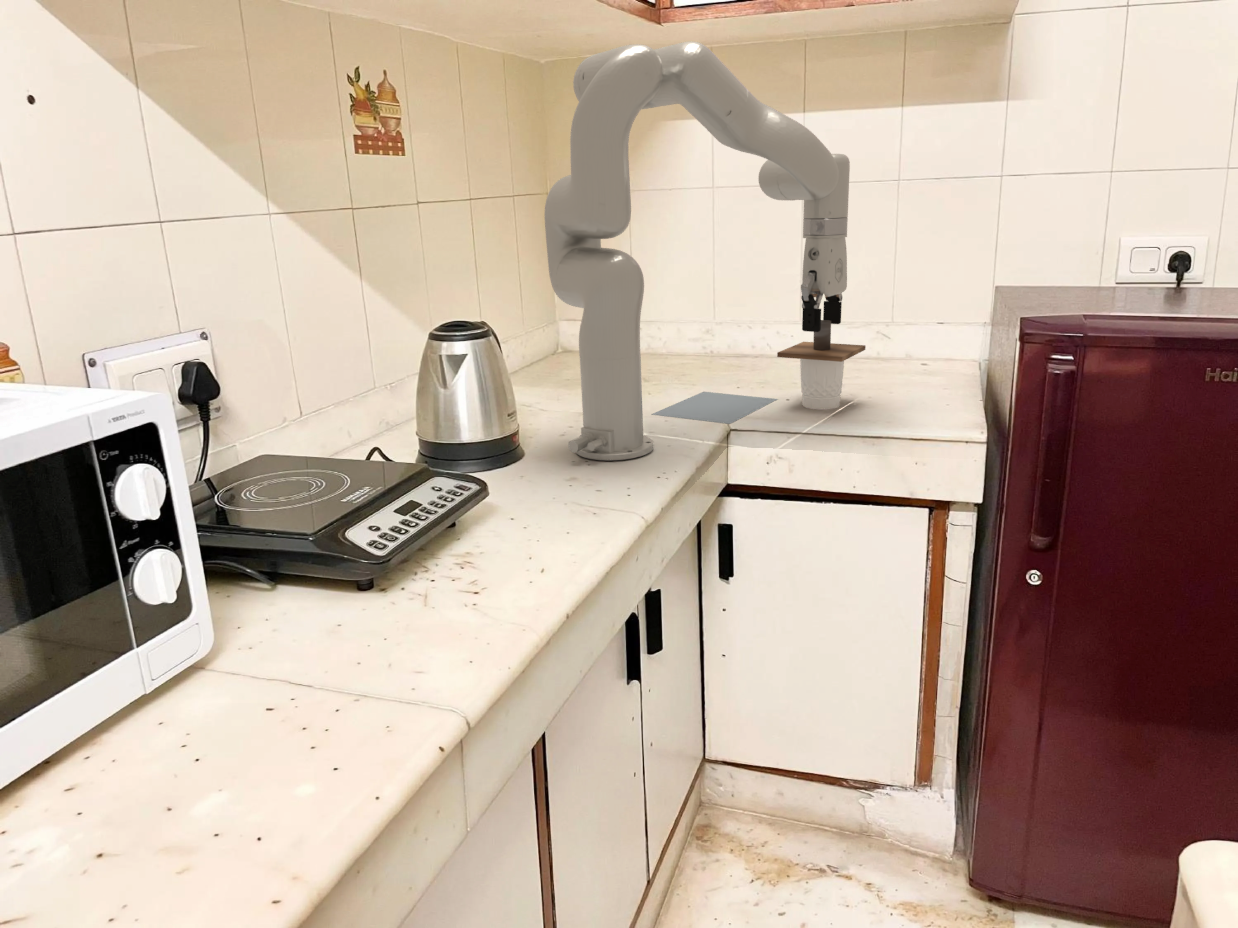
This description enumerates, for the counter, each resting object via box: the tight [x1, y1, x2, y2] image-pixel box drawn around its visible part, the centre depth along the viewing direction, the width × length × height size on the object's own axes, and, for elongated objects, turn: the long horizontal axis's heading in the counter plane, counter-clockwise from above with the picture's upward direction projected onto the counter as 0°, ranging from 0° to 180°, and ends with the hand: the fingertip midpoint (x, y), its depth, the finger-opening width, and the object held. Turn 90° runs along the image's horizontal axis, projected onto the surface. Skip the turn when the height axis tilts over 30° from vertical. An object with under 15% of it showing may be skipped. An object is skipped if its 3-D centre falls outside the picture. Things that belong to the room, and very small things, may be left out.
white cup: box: [799, 359, 845, 411], centre depth 167 cm, size 8×8×10 cm
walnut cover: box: [776, 319, 866, 362], centre depth 165 cm, size 12×12×6 cm
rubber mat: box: [651, 391, 779, 425], centre depth 171 cm, size 20×16×1 cm
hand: (821, 327), depth 164 cm, fingers open, 9 cm apart
